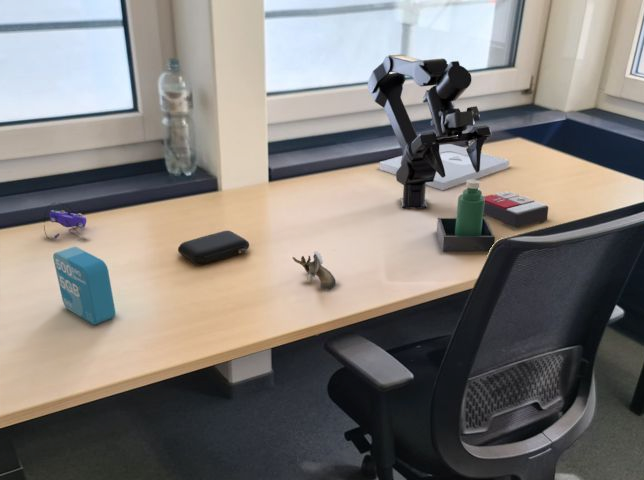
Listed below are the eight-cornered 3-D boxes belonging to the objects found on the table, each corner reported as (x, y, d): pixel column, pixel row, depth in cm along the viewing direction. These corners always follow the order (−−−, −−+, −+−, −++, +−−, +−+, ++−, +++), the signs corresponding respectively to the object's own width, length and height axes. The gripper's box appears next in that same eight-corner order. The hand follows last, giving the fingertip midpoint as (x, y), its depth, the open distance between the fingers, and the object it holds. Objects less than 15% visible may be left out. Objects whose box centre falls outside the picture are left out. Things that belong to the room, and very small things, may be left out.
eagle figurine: (285, 275, 159) (308, 283, 152) (297, 243, 158) (321, 249, 151) (312, 286, 164) (336, 294, 157) (324, 255, 163) (348, 262, 156)
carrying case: (199, 270, 163) (256, 253, 171) (198, 257, 161) (255, 241, 169) (175, 254, 170) (230, 238, 178) (173, 242, 168) (229, 226, 176)
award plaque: (379, 169, 222) (379, 162, 221) (445, 149, 239) (446, 142, 238) (442, 190, 207) (443, 182, 206) (508, 167, 224) (509, 160, 223)
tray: (436, 233, 181) (437, 217, 179) (484, 233, 182) (486, 217, 179) (442, 253, 172) (443, 236, 169) (493, 253, 172) (495, 236, 170)
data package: (63, 307, 149) (51, 250, 142) (83, 299, 151) (72, 244, 145) (96, 327, 142) (85, 269, 135) (117, 319, 145) (107, 262, 138)
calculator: (507, 189, 197) (549, 203, 186) (505, 205, 199) (547, 220, 189) (475, 196, 192) (517, 211, 181) (474, 212, 194) (515, 228, 184)
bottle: (452, 238, 178) (458, 176, 170) (477, 238, 178) (484, 176, 170) (455, 248, 173) (462, 185, 165) (481, 248, 173) (489, 185, 165)
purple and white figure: (91, 208, 184) (89, 214, 174) (86, 240, 186) (84, 248, 177) (48, 198, 180) (44, 204, 171) (44, 232, 183) (39, 239, 174)
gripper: (422, 97, 164) (441, 164, 163) (494, 90, 171) (513, 154, 169) (402, 121, 175) (420, 184, 173) (470, 113, 181) (488, 174, 180)
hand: (461, 174), depth 174 cm, fingers open, 9 cm apart
